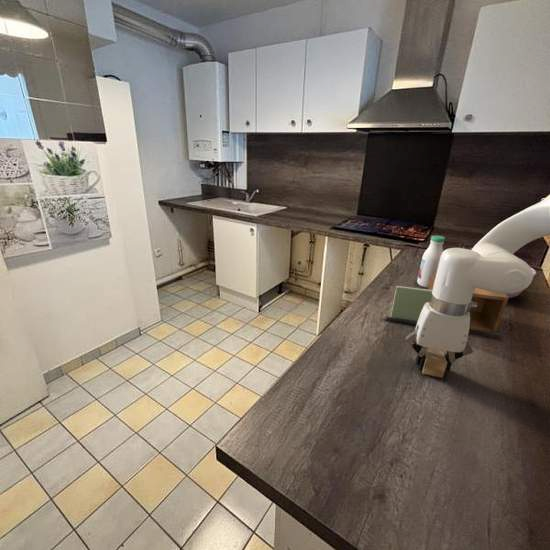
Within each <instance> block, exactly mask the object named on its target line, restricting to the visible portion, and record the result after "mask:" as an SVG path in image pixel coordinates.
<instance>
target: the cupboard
mask: <svg viewBox="0 0 550 550" xmlns="http://www.w3.org/2000/svg"><path fill="white" fill-rule="evenodd" d="M435 278H436V275H432V274H431V276H430V281H429V285H428V288H426V289H427V290H433V286H434V282H435ZM509 299H510V298H508V296H507V295H506V294H504V293H497V292H493V291H488V290H484V289H480V288H475V290H474V293H473V296H472V299H471V301H473V302H476V303H477V308H472V309H470V310H469V312H470V327H469V334H472V335H477V336H478V335H479V336H485V337H491V338H496V339H497V338H498V339H499V338H500V337H501V334H500V333H499V332H498V330H499V326H500V323H501V321H502V318H503V315H504V312H505V309H506V306H507V304H508V301H509ZM385 321H388V322H394V323H401V324H407V325H414V326H416V325H417V322H418V321H414V320H408V319H401V318H395V317H391V316H388V315H385Z"/></svg>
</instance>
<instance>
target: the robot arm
mask: <svg viewBox="0 0 550 550" xmlns="http://www.w3.org/2000/svg"><path fill="white" fill-rule="evenodd" d="M547 236H550V194H548V195H547V196H546V197H544V199H543V200H540V201H539V202H537V203H535V204H533V205H531V206H529V207H527V208H525V209H523V210H521V211H519V212H517V213H515V214H513V215H512V216H510V217H507V218H506V219H505V220H503V221H501V222H499V223H498V224H497V225H496V226H494V227H493V228H492V229H491V230H490V231H488V232H487V233H486V234H485V235H484V236H483V237H482V238H481V239H480V240H479V241H478V242H477V243H476V244H475V246H474V245H473V247H471V248H472V250H469V249H463V248H459V247H458V248H457V247H456V248H455V247H450V248H446V249H445V250H443V252H442V254H441V257H440V261H439V265H438V269H437V273H436V278H435V282H434V286H433V290H432V294H431V298H430V302H427V303H425V305H424V307H423V309H422V311H421V313H420V316H419V319H418V322H417V325H415V329H414V330H413V331H411V332H410V333H409V334H408V335H406V336H405V337H404V340H405V343H407V344H408V345H409V346H411V347H412V349H413V350H414V351H415V352H416V354H417V355H416V358H415V365H417V366H418V367H417V368H418V371H421V372H422V370H423V366H424V362H425V353H426V351H427V349H433V350H439V351H444V352H446V353H444V354H445V357H446V360H447V366H446V369H445V373H444V376H447V374H448V372H450V371H451V368H452V364H453V363H455V362H456V360H458V359H460V358H462V357H464V356H467V355H472V354H473V353H474V350H473V347H472V346H471V345H470V343H469V341H468V338H469V335H470V333H469V327H470V312H469V310H470V309H472V308H477V303H476V302H473V301H471V299H472V296H473V293H474V290H475V288H480V289H484V290H488V291H493V292H497V293H504V294H511V293H517V292H520V291H522V290H523V291H525V290H526V289H527V288H528V287H530V285H531V284H532V282H533V279H534V277H533V272H532V270H531V268H532V267H531V266H530V265H529V264H528V263H527V262H526V261H524V260H523V259H522V258H519V257H518V256H516V255H515V253H516V252H517V251H518V250H520V249H521V248H522V247H524V246H526V245H527V244H529V243H531V242H533V241H535V240H537V239H541V238H543V237H547ZM530 267H531V268H530ZM523 291H522V292H523Z"/></svg>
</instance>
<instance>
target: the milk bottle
mask: <svg viewBox="0 0 550 550" xmlns="http://www.w3.org/2000/svg"><path fill="white" fill-rule="evenodd" d="M445 240H446V238H445V236H443V235H431V237H430V242H429V243H430V244H429V245H428V247H427V249H425V250H424V253H423V254H422V258H421V262H420V266H419V271H418V275H417V280H416V282H417V285H419V286H421V287H422V288H426V289H428V285H429V281H430V276H431V274H432V275H436V273H437V269H438V265H439V261H440V257H441V254H442V252H443V251H444V247H443V246H444V245H443V244H445Z"/></svg>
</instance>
